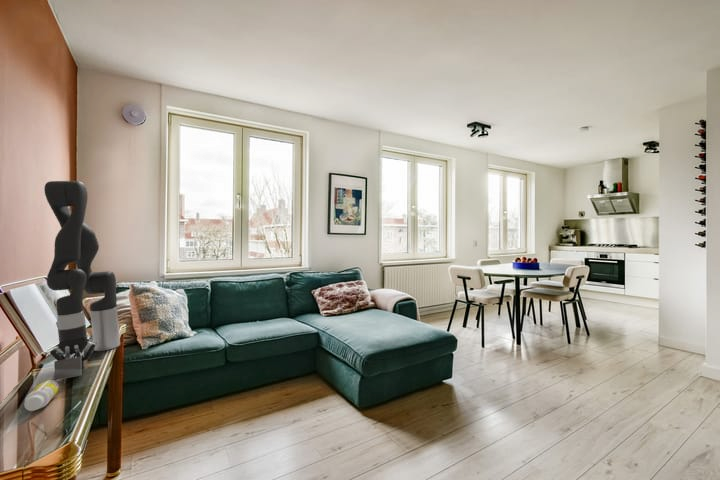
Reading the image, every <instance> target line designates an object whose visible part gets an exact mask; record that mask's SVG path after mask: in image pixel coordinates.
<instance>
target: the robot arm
mask: <svg viewBox="0 0 720 480" xmlns="http://www.w3.org/2000/svg"><path fill="white" fill-rule="evenodd" d="M43 189H44V195H45V199H46V200H47V203H48V204H49V207H50V209H51V210H52V213H53V214H54V216H55V218H56V220H57V221H58V223H59V226H60V228H61V229H60V230H59V231H58V233H57V234H56V235H55V239H54V253H53V254H54V256H53V260H52V262H51V266H50V269H49V271H48V273H47V277H46V285H47V286H48V288H49V289H51V290H52V291H66V290H71V292H70V294H68V295H65V296H62V297H59V298H57V299H56V302H55V303H56V304H55V305H56V313H57V319H56V323H57V325H56V327H57V334H58V341H59V342H58V345H57V347H56V348H53V349H52V350H50V352H49V353H50V356H52V357H53V358H54V359H55V361H59V360H66V359H72V358H74V356H75V358H79V357H82V371H83V370H84V368H85V367H84V361H85V360H87V359H89V358H90V357H91V355H92V354H93V352H94V351H95V352H103V351H104V352H105V351H108V350H109V351H110V350H112V349H115V348H118V347H119V346H121V337H120V325H119V316H118V314H119V313H118V307H117V306H118V304H117V300H118V299H117V282H116V280H117V278H116V275H115V272H113V271H111V270H108V271H107V270H106V271H96V272H94V271H93V270H92V269H91V268H92V267H91V266H92V263H93V261H94V259H95V257H96V255H97V253H98V252H99V249H100V244H99V241H98V239H97V235H96V233H95V230H93V229H92V228H91V227H90V226H89V225H87V223H85V222H84V220H85V216H86V210H87V204H88V199H89V198H88V190H87V187H86V185H85V184H84V183H83V182H82V181H79V180H53V181H52V180H51V181H50V180H49V181H48V182H45V184H44V188H43ZM69 207H72V208H71V209H72V210H70V208H69ZM71 264H75V266H76V268H72V269H71V268H70V269H66V268H67V267H68V266H69V265H71ZM84 292H85V293H86V294H88V295H96V294H104V296H103V297H102V298H101V299H99V300H96V301H93V302H92V303H90V305H89V310H90V311H89V312H90V320H91V322H90V323H91V331H92V342H91V341H89V339H88V335H87V333H88V332H87V325H86V315H85V313H84V305H83V297H84ZM86 347H87V349H88V350H87V351H86V353H85V352H84V350H85V349H86ZM62 352H63V353H64V354H63V353H62ZM84 353H85V354H84ZM64 355H65V356H64ZM84 371H85V370H84ZM84 371H83V372H84Z"/></svg>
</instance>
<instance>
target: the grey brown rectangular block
mask: <svg viewBox="0 0 720 480" xmlns="http://www.w3.org/2000/svg"><path fill="white" fill-rule="evenodd" d="M88 359H89V358H88ZM88 359H87V360H85V361H84V367H85V368H84V370H83V371H82V357H79V358H77V357H73V358H72V359H66V360H59V361H57V360H55V361H54V362H53V363H54V364H53V366H54V381H56V380H62V379H63V380H64V379H69V378H74V377H81V376H82V375H83V372H84V371H86V370H87V369H88V367H89V366H88V365H89V363H88Z"/></svg>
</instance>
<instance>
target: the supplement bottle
mask: <svg viewBox="0 0 720 480" xmlns="http://www.w3.org/2000/svg"><path fill="white" fill-rule="evenodd" d="M59 388H60V386H59V383H57V382H56V380H51V379H49V380H44V381H42V382H40V383H39V384H37V385H36V386H35V387H34V389H32V390H31V391H30V392H29V393H28V394H27V395H26V396H25V399H24V405H23V407H24V408H25V409H26V410H27V411H30V412H34V411H37V410H41V409H43V408H44V407H46V406H47V405H48V404H49V403H50V401H52V399H54V397H55V396H56V395H57V393H58V392H59V390H60V389H59Z"/></svg>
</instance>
